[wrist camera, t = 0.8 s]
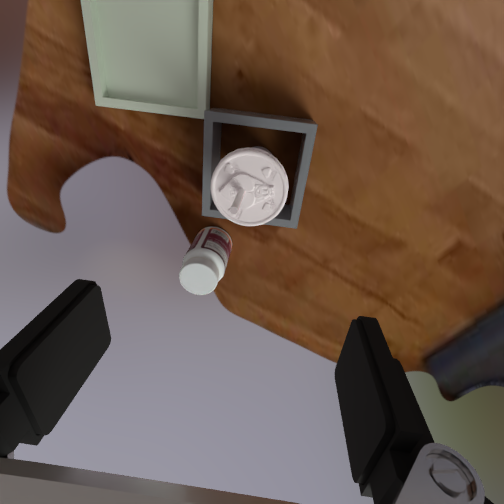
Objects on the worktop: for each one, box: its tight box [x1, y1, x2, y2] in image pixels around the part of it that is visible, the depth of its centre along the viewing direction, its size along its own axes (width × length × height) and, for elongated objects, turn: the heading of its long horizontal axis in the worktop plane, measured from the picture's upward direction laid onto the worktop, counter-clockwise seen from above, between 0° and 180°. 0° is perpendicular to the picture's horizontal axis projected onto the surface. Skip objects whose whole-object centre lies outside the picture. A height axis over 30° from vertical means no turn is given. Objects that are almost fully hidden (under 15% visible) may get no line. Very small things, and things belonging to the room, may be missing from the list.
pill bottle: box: [179, 226, 232, 295], centre depth 34 cm, size 5×5×8 cm
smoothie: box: [211, 146, 289, 226], centre depth 26 cm, size 6×6×14 cm
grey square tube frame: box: [202, 108, 318, 229], centre depth 30 cm, size 10×10×4 cm
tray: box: [81, 0, 213, 119], centre depth 26 cm, size 14×11×2 cm
